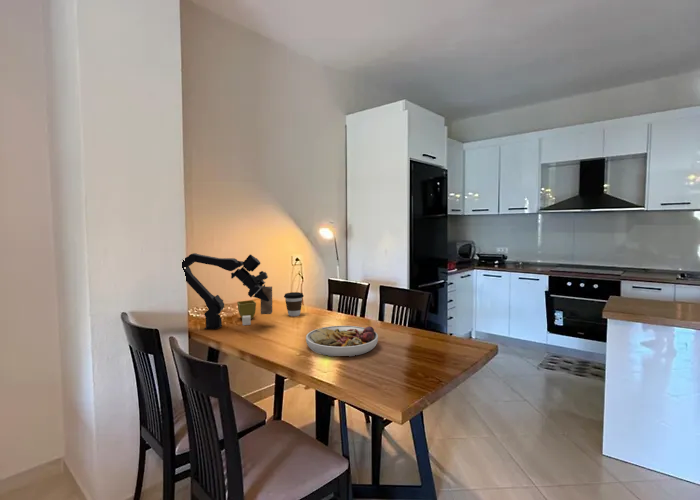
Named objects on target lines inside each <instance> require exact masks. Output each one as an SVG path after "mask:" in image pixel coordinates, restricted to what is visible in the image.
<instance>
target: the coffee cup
mask: <svg viewBox="0 0 700 500" xmlns="http://www.w3.org/2000/svg"><path fill="white" fill-rule="evenodd" d="M283 298H284V299H285V304H286V305H285V306H286V310H287V314H288V316H289V317H298V316H300V315H301V311H302V307H303V306H302V305H303V298H304V293H303V292H298V291H297V292H296V291H294V292H286V293H285V294H284V296H283Z"/></svg>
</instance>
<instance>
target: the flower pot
mask: <svg viewBox="0 0 700 500" xmlns="http://www.w3.org/2000/svg"><path fill="white" fill-rule="evenodd" d="M236 303H237V311H238V313H239V315H240V318H241V319H242V317H243V316H248V315H251V320H252V319H253V318H254V317H255V315H256V309H257V308H256V306H257V302H256V301H254V300H253V299H251V300H242V301H241V300H240V301H237V302H236Z"/></svg>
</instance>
